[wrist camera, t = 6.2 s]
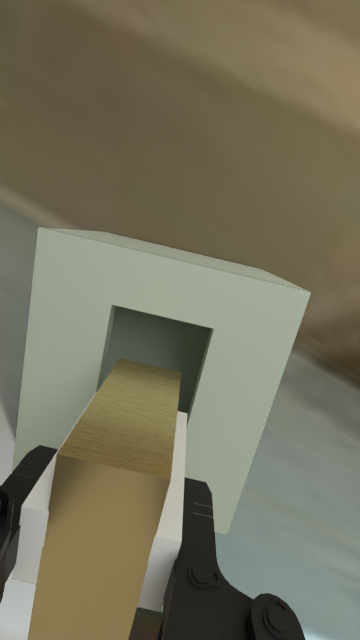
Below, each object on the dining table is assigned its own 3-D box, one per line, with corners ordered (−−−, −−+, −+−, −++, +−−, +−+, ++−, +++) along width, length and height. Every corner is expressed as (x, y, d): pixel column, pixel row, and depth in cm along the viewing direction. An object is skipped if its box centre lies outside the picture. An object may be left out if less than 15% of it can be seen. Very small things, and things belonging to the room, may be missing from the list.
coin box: (105, 231, 27) (38, 227, 15) (261, 269, 27) (311, 292, 16) (79, 393, 31) (10, 485, 20) (215, 425, 31) (226, 534, 20)
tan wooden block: (119, 357, 15) (56, 454, 8) (181, 372, 15) (170, 480, 8) (95, 479, 16) (27, 644, 10) (151, 491, 16) (121, 664, 10)
